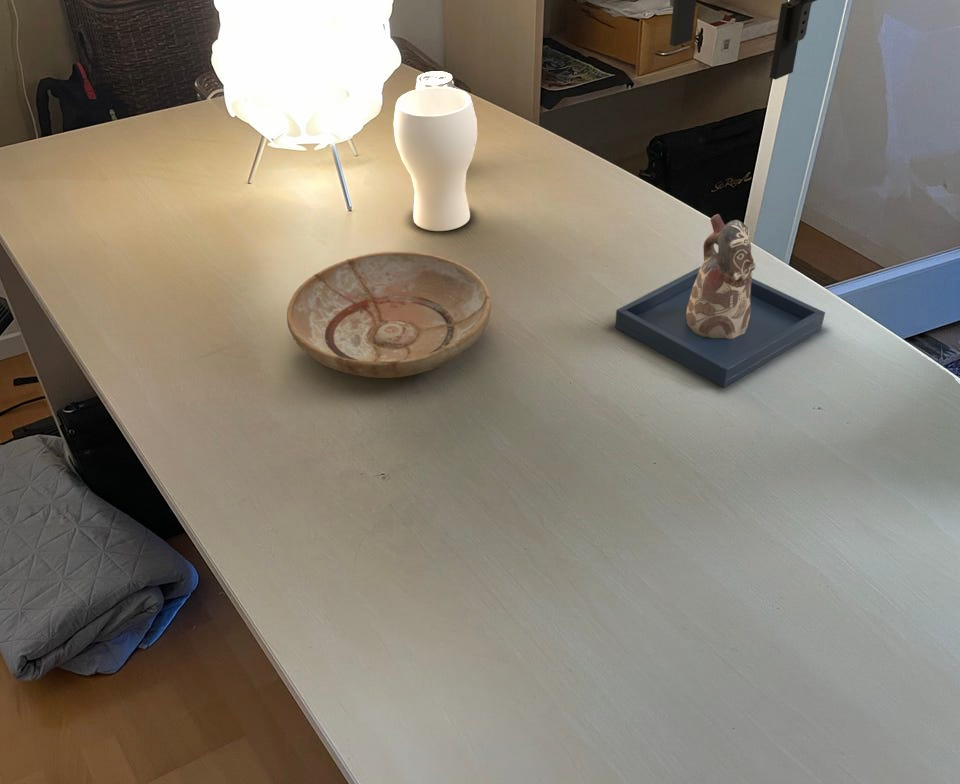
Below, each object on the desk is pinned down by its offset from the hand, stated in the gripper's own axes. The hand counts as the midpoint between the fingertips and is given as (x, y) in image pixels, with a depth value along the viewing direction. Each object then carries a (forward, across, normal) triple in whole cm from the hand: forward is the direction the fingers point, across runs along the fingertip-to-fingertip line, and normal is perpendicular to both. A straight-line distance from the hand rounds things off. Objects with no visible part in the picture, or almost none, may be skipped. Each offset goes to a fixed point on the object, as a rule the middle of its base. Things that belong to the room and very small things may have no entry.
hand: (729, 58), depth 104 cm
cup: (+25, -35, -13) cm, 45 cm away
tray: (+25, +9, -7) cm, 27 cm away
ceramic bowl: (+25, -15, -36) cm, 46 cm away
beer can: (+25, -48, -3) cm, 54 cm away
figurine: (+24, +9, -7) cm, 27 cm away
